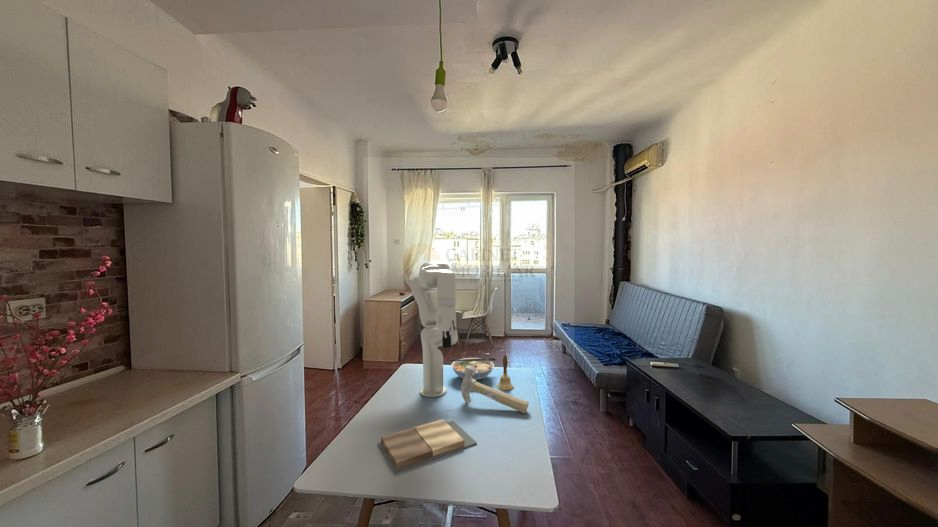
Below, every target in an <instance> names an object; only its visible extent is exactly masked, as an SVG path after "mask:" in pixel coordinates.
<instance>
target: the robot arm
mask: <svg viewBox="0 0 938 527" xmlns="http://www.w3.org/2000/svg"><path fill="white" fill-rule="evenodd" d="M456 284H457V283H456V273H455V272H454V271H453V270H450V266H449V264H448V263H446V262H445V261H430V262H429V261H428V262H424V263H422V264H421V265H420V267H419V272H418V275H417V276H414V277H413V278H412V279H411V281H410V290H411V293H412V296H413V298H414V300H415V302H416V303H417V306H418V313H419V318H420V322H421V325H422V326H423V327H424V328H423V329H422V330H421V331H420V340H421V341H420V342H421V346H422V347H421V348H422V371H423V372H422V375H423V376H422V382H423V384H422V385H423V386H422V387H421V388H420V391H419V393H420V395H421V396H423V397H425V398H426V397H427V398H437V397H442V396H443V395H445V394H446V393H447V387H446V386H444V355H443V353H442V351H441V349H439V347H443V348H444V349H446V348H451V347H452V346H453V345H455V344H456V343H458V339H459V338H458V337H459V336H458V330H457V311H456V306H457V304H456V302H457V301H456V300H457V298H456V293H457V292H456V290H457V289H456V287H457V286H456ZM428 292H430V293H431V292H436V302H435V300H434V298H433V297H431V295H429V294H428ZM435 303H436V304H435Z"/></svg>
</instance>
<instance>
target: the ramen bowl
mask: <svg viewBox="0 0 938 527" xmlns="http://www.w3.org/2000/svg"><path fill="white" fill-rule="evenodd" d="M493 361H496V358H495V357H488V358H484V357H483V358H481V357H465V358H460V359H452V360H451V359H449V362H452V363H451V365H450V366H451V368H452V370H453V372H454V374H455V375H456V376H458V377H459V378H461V379H463V378H464V377H465V369H466V367H467V366H469V365H470V366H473V367H475V368H476V371H475V374H474V375H473V376H472V379H475V380H476V381H479V380H482V379H485V378H486V377H488V376H489V375H490V374H491V372H492V371H493V370H494V367H495V364H494V362H493Z"/></svg>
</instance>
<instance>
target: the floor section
mask: <svg viewBox="0 0 938 527" xmlns="http://www.w3.org/2000/svg"><path fill="white" fill-rule="evenodd" d="M445 422H446V421H445ZM446 423H447V424H448V425H449V426H450V427H451V428H453V429H454V430H455V431H456V432H457V433H458V434H459V435H460V436H461V437H462V438H463V439H464V446H462V447H459V448H456V449H453V450H450V451H447V452H444V453H441V454H438V455H435V456H432V450H431V449H430V448H429V447H428V445H427V444H426V443H425V442H424V440H423V439H422V438H421V437H420V436H419V434H418V433H417V432H416V431H415V429H414V427H411V428H408V429H403V430H400V431H397V432H394V433H389V434H386V435H383V436H381V437H380V439H381V440H380V441H378V442H377V445H378V444H379V445H378V446H380V447H379V448H380V450H381V452H382V451H383V452H382V454H383V453H384V454H383V456H384V457H385V459H386V461H387V462H388V464H389V466H390V468H391V469H392V471H393V473H397V472H400V471H402V470H406V469H409V468H411V467H414V466H417V465H420V464H423V463H426V462H429V461H433V460H435V459H438V458H440V457H444V456H446V455H450V454H452V453H456V452H458V451H461V450H462V451H463V450H465V449H466V448H467V449H468V448H470V447H473V446H476V445H477V444H478V442H477V441H476V440H474V438H473V437H472V436H470V435H469V434H468V433H467V432H466V431H465V430H464V429H463V428H462V427H461V426H459V424H458V423H456V422H455V421H454V420H451V421H447V422H446Z"/></svg>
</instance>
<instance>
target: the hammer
mask: <svg viewBox="0 0 938 527" xmlns="http://www.w3.org/2000/svg"><path fill="white" fill-rule="evenodd" d="M475 371H476V368H475V367H473V366H470V365H469V366H467V367H466V369H465V377H464V378H462V381H461V386H460V391H461V396H462V399H463V401H465V402H466V404H467V405H469V404H471V402H472V401H473V399H472V397H471V396H470V392H474V393H478V394H480V395H482V396H484V397H487V398H488V399H491V400H493V401H495V402H497V403H499V404H500V405H504V406H506V407H509V408H511V409H514V410H515V411H517V412H520V413H522V414H527V411H528V407H529V401H527V400H525V399H522V398H519V397H517V396H513V395H511V394H508V393H506V392H503V391H502V390H500V389H497V388H494V387H492V386H488V385H485V384H484V383H483V384H482V383H480V382H479V381H477V380H475V379H472V376H473V375H474V374H475Z"/></svg>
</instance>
